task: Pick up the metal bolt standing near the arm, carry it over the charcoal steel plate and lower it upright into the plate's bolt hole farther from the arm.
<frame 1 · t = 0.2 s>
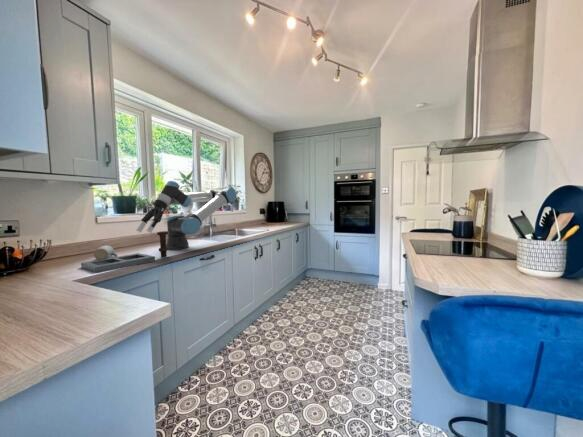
hand: (143, 231, 144), 15 cm above the counter, tool tilted 35°, fingers open, 13 cm apart
hole plate: (119, 264, 129), on the counter
ceramic mug: (106, 259, 143), on the counter
bolt: (163, 257, 146), on the counter
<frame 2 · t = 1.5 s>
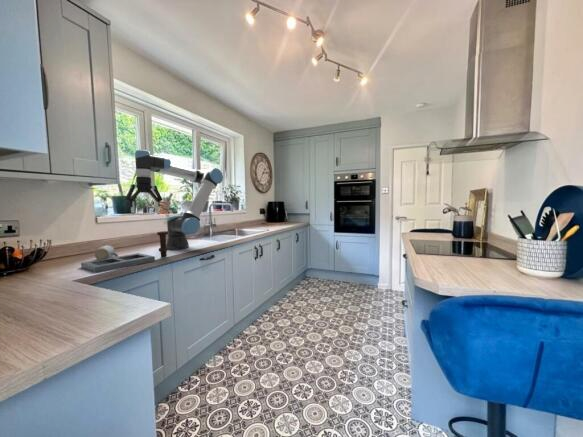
hand: (145, 212, 145), 27 cm above the counter, tool pointing down, fingers open, 13 cm apart
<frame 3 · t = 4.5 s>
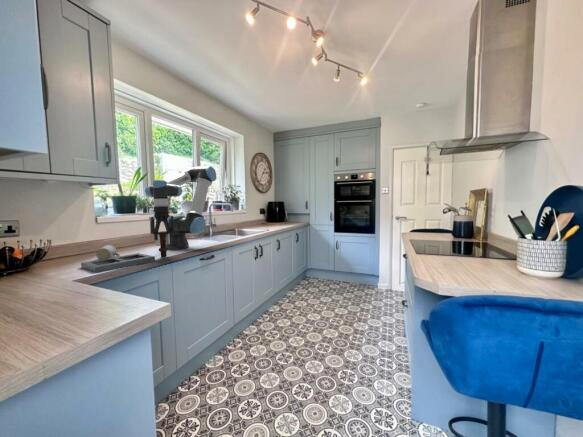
hand: (163, 244, 145), 7 cm above the counter, tool pointing down, fingers closed on bolt, 5 cm apart
bolt: (163, 257, 146), on the counter, touching gripper
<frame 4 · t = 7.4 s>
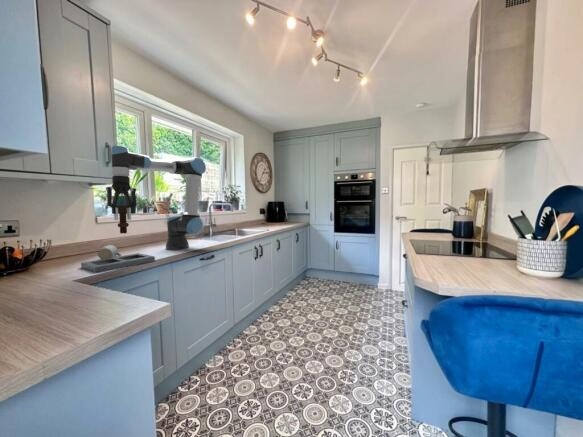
hand: (122, 219, 129), 24 cm above the counter, tool pointing down, fingers closed on bolt, 5 cm apart
bolt: (123, 233, 129), point 16 cm above the counter, touching gripper
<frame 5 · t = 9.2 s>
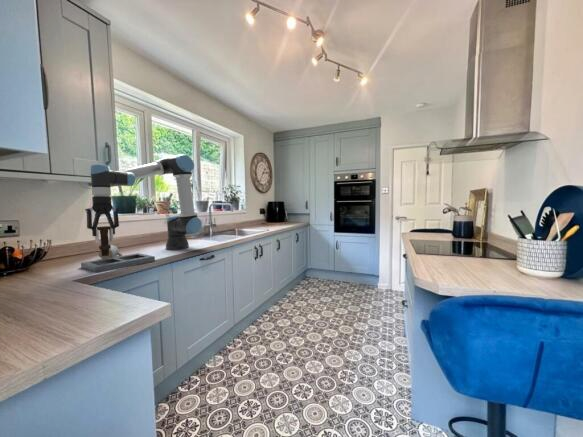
hand: (104, 241, 123), 13 cm above the counter, tool pointing down, fingers closed on bolt, 5 cm apart
bolt: (105, 256, 124), point 5 cm above the counter, touching gripper
when the fingers open (8 cm above the counter, at t = 10.6 s): bolt stays where it is, resting in hole plate.
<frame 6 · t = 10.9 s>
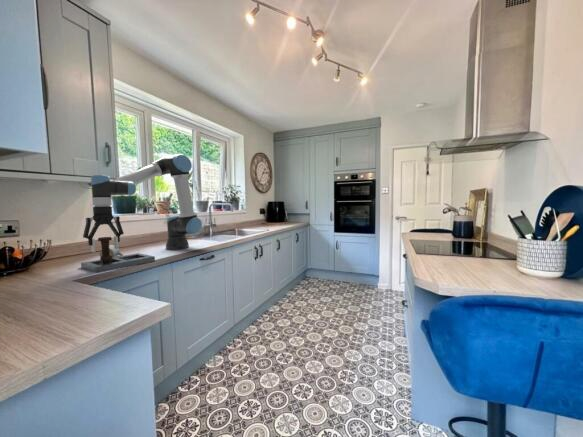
hand: (105, 250, 124), 9 cm above the counter, tool pointing down, fingers open, 9 cm apart
bolt: (106, 266, 124), resting in hole plate
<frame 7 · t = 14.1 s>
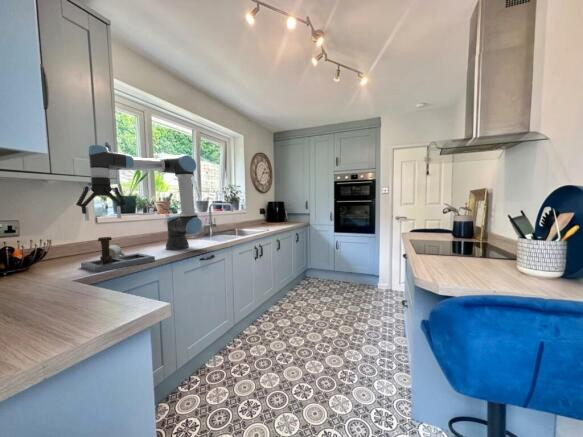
hand: (104, 219, 123), 24 cm above the counter, tool pointing down, fingers open, 13 cm apart
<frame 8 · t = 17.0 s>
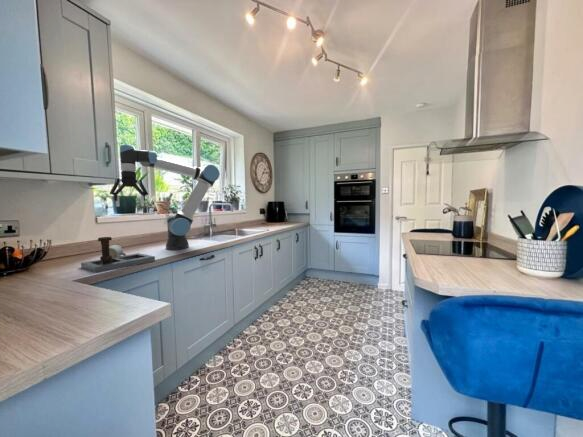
hand: (130, 206, 148), 31 cm above the counter, tool pointing down, fingers open, 13 cm apart
at the end: bolt 0.1 cm from the target spot on the hole plate, point 0.0 cm above the hole plate's base; bolt tilted 0°; the gripper is holding nothing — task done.
